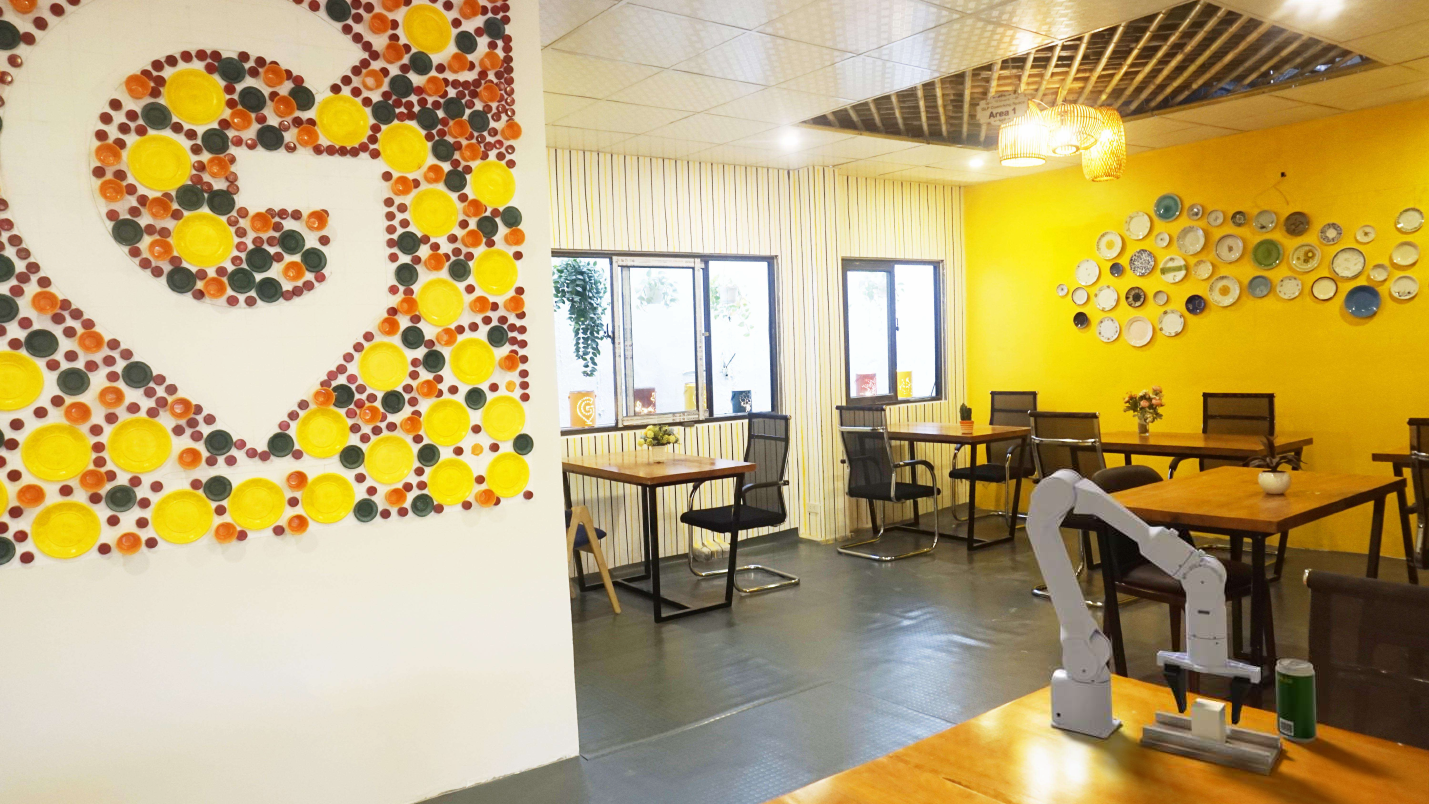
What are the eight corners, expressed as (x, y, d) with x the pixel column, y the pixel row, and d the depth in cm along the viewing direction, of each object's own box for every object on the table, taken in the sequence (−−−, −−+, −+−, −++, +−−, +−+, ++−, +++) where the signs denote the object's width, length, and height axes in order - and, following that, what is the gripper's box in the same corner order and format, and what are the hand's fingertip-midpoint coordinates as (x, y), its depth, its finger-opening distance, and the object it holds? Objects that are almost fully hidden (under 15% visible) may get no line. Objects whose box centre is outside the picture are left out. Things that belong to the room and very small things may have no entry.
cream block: (1192, 742, 143) (1190, 706, 143) (1198, 733, 146) (1197, 697, 145) (1219, 748, 140) (1218, 711, 140) (1226, 739, 143) (1225, 703, 143)
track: (1139, 745, 145) (1139, 730, 145) (1160, 721, 153) (1159, 707, 153) (1267, 775, 133) (1267, 758, 133) (1282, 748, 141) (1281, 732, 141)
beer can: (1307, 746, 141) (1305, 672, 141) (1271, 735, 146) (1268, 663, 145) (1322, 736, 144) (1320, 664, 144) (1286, 726, 149) (1284, 655, 148)
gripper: (1150, 632, 144) (1152, 714, 145) (1252, 648, 134) (1254, 736, 135) (1163, 621, 149) (1165, 700, 150) (1262, 636, 140) (1264, 720, 140)
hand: (1208, 716), depth 143 cm, fingers open, 7 cm apart
